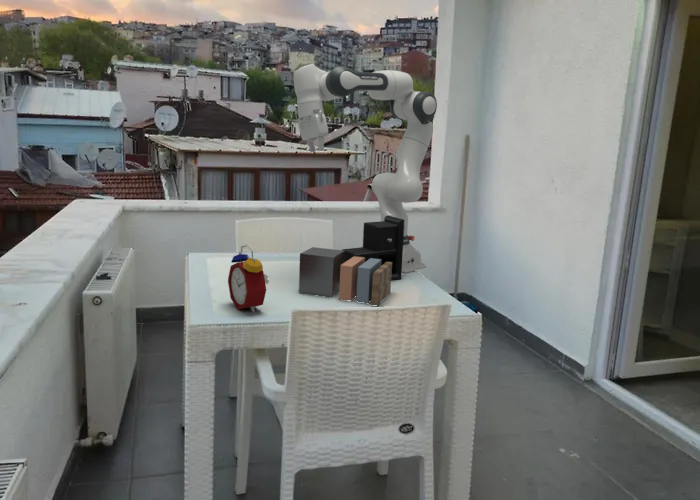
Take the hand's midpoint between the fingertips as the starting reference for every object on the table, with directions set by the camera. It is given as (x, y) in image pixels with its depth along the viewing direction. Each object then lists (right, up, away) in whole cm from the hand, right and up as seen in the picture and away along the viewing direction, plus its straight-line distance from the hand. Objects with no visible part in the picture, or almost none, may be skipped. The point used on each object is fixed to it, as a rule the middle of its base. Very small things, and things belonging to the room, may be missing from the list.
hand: (317, 151), depth 202 cm
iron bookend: (+2, -50, -5) cm, 50 cm away
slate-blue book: (+18, -52, -10) cm, 55 cm away
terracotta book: (+12, -51, -8) cm, 53 cm away
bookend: (+19, -47, +14) cm, 52 cm away
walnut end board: (+22, -52, -11) cm, 58 cm away
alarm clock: (-19, -54, -26) cm, 63 cm away
